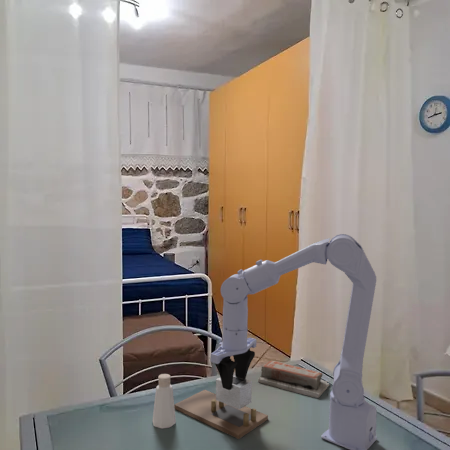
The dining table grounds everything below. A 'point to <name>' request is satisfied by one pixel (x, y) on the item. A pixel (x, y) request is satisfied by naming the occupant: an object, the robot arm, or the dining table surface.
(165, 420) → the salt shaker
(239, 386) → the block
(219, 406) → the walnut tray
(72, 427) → the dining table surface
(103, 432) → the dining table surface
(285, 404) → the dining table surface
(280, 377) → the packaged product
